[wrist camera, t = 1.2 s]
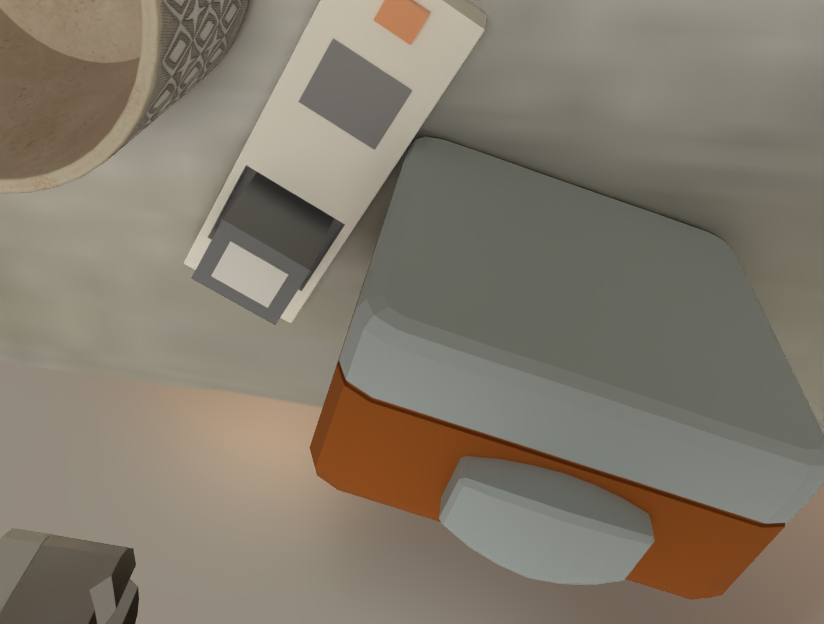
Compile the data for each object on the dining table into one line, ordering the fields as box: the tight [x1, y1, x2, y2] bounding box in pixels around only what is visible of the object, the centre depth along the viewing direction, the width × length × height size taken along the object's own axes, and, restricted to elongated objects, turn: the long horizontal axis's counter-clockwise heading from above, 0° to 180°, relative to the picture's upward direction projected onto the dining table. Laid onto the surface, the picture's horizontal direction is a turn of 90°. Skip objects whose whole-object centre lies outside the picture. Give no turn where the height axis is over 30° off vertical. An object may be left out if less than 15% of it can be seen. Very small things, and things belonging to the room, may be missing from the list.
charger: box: [192, 172, 334, 325], centre depth 40 cm, size 5×4×6 cm
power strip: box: [184, 0, 487, 323], centre depth 38 cm, size 7×28×4 cm, turn 148°
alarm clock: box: [310, 136, 824, 599], centre depth 35 cm, size 18×9×21 cm, turn 72°
